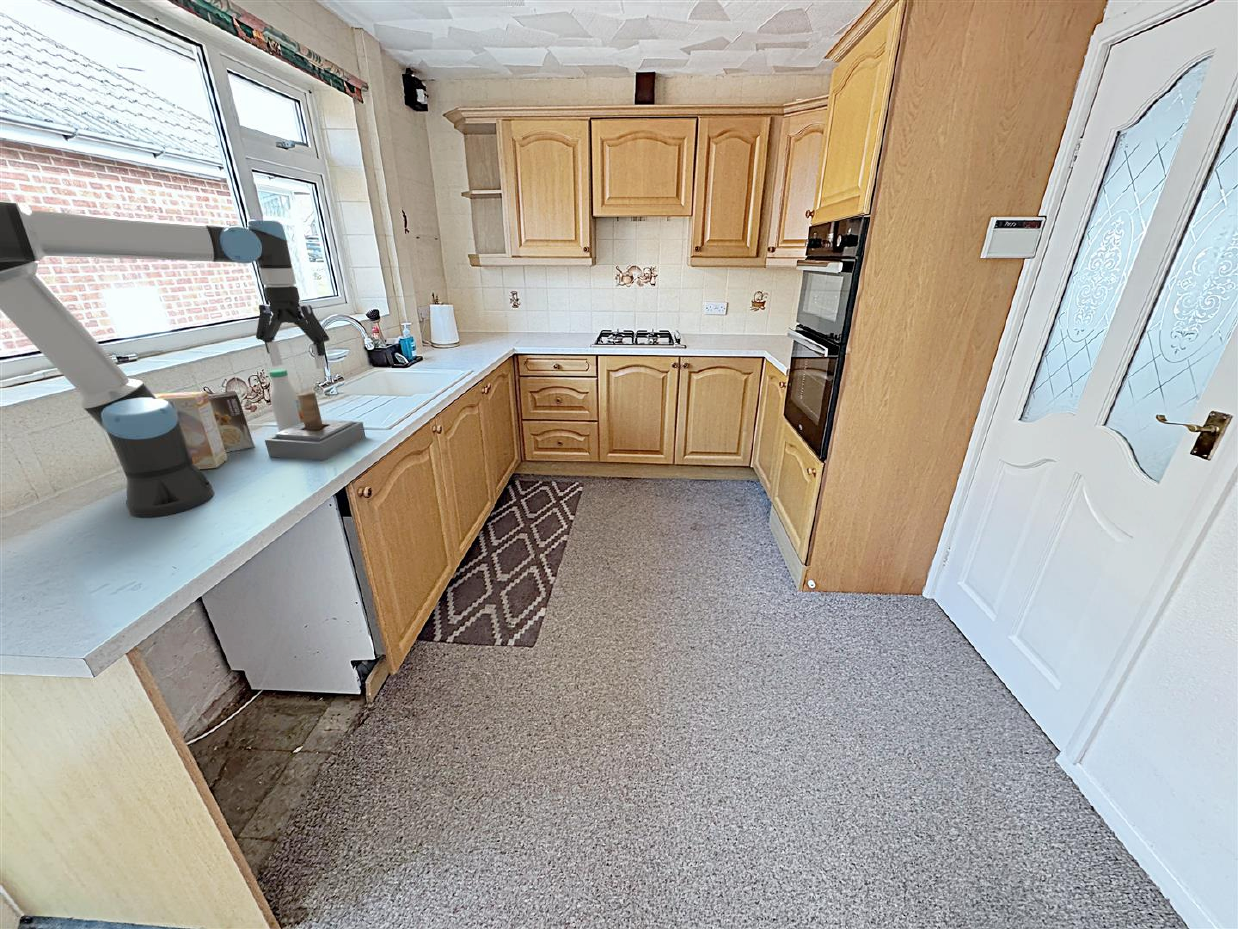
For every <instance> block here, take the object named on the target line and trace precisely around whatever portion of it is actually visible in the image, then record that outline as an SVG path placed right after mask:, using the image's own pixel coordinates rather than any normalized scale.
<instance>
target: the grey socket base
mask: <svg viewBox="0 0 1238 929" xmlns="http://www.w3.org/2000/svg"><path fill="white" fill-rule="evenodd" d="M351 421H352V422H353V425H352V426H350V427H348V428H346V429H344V430H342V431H340V432H338V433H336V434H334V435H332V436H330V437H328V438H326V439H324V440H322V441H320V442H308V441H294V440H279V439H277V438H276V435H275V434H274V435H272V436H270V437H268V438H266V439H264V443H265V446H266V450H267V453H268V456H269V457H271V458H273V457H274V458H286V459H295V460H297V459H298V460H299V459H300V460H312V461H323V460H324V461H325V460H327V459H329V458H331V457H333V456H334V454H335V455H336V454H338V453H340V452H341V451H343V450H346V449H347V448H349V447H351V446H353V445H354V444H356V443H358V442H360V441H362V440H363V439H365V438H366V433H365V428H364V427H365V426H364V421H353V420H351ZM332 455H333V456H332Z"/></svg>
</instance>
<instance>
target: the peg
mask: <svg viewBox="0 0 1238 929" xmlns="http://www.w3.org/2000/svg"><path fill="white" fill-rule="evenodd" d="M297 397H298V401H299V405H300V409H301V413H302V417H303V421H304V425H305V429H306V431H319V430H321V429H323V424H322V420H321V419H322V416H321V412H320V408H319V403H318V399H317V395H316V392H314V391H305V392H300V393H299V392H298V394H297Z"/></svg>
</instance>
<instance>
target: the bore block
mask: <svg viewBox="0 0 1238 929" xmlns="http://www.w3.org/2000/svg"><path fill="white" fill-rule="evenodd" d="M321 420H322V424H323V429H321V430H319V431H306V429H305V425H304V422H302V423H299V424H297V425H295V426H292V427H290V428H288V429H285V430H283V431H281V432H279V431H278V432H276V433H275V434H274V436H275V435H276V438H277V439H279V440H294V441H308V442H320V441H322V440H324V439H326V438H328V437H330V436H332V435H334V434H336V433H338V432H340V431H342V430H344V429H346V428H348V427H350V426H352V425H353V422H352V421H353V420H341V419H340V420H339V419H324V418H323V419H322V418H321Z"/></svg>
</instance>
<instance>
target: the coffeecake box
mask: <svg viewBox="0 0 1238 929" xmlns="http://www.w3.org/2000/svg"><path fill="white" fill-rule="evenodd" d="M152 394H153V395H154V396H155V397H156V399H157V398H159V399H163V400H166V401H168V402H169V403H170V404H171V405H172V406H173V408H174V410H175V411H176V412H177V415H178V421H179V424H180V427H181V430H182V432H183V435H184V438H185V441H186V443H187V446H188V449H189V451H190V454H191V457H192V460H193V463H194V465H195V466H196V467H197V468H198V469H199V470H205V469H207V470H208V469H216V468H218V467H219V466H221V465H222V464H224V463H225V462H226V461H227V460H228V457H227V456H228V455H227V453H226V452H225V449H224V446H223V442H222V439H221V436H220V433H219V429H218V426H217V423H216V420H215V416H214V413H213V410H212V407H211V403H210V400H209V397H208V394H209V393H208V392H207V390H204V391H189V392H188V391H187V392H170V393H169V392H166V393H152ZM224 461H225V462H224Z"/></svg>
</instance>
